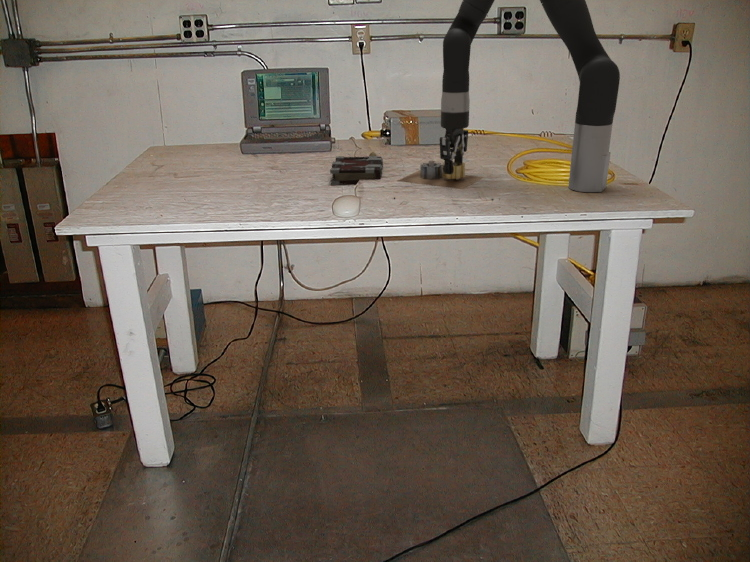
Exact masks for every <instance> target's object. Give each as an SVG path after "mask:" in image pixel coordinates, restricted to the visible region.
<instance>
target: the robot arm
mask: <svg viewBox="0 0 750 562" xmlns="http://www.w3.org/2000/svg"><path fill="white" fill-rule="evenodd" d="M494 2H495V0H462V2H461V3H460V7H459V9H458V13H457V14H456V16H455V17H454V20H453V21H452V23H451V24H450V27H449V28H448V31H447V32H446V33H445V35H444V38H443V41H442V61H443V62H442V63H443V66H442V67H443V73H442V82H441V83H442V87H441V89H442V90H441V91H442V92H441V97H440V98H441V99H440V127H441V128H442V129H445V134H444V136H442V137H440V138H439V155H440V157H439V158H440V159H441V160H443V163H444V173H445V174H452V173H453V162H461V163H464V162H463V157H464V155H465V153H466V152H467V151H468V142H469V141H468V140H469V139H468V138H469V130H468V129H466V128H468V127H469V125H470V101H471V99H470V70H469V69H470V59H471V58H470V57H471V48H472V47H471V46H472V44H473V41H474V39H475V37H476V35H477V33H478V30H479V28H480V26H481V24H482V23H483V22H484V20H485V19H486V18H487V16H488V14H489V12H490V10H491V9H492V6H493V5H494ZM539 2H540V4H541V6H542V8H543V11H544V12H545V14H546V17H547V18H548V21H549V22H550V23H551V26H552V27H553V28H554V30H555V31H556V34H557V35H558V36H559V37H560V39H561V40H562V42H563V43H564V45H565V46H566V48H567V50H568V52H569V54H570V57H571V60H572V61H573V65H574V67H575V70H576V73H577V76H578V81H579V88H578V99H577V107H576V110H575V111H576V112H575V118H574V120H575V122H574V127H573V128H574V129H573V130H574V131H573V137H572V138H573V139H572V147H571V148H572V149H571V158H570V165H569V166H570V167H569V176H568V177H569V178H568V189H570V190H572V191H576V192H581V193H582V192H583V193H603V191H604V190H605V189H606V188H607V185H608V184H607V183H608V176H609V170H610V169H609V167H610V162H611V161H610V160H611V151H610V147H611V146H610V145H611V138H612V130H613V123H614V117H615V113H616V109H617V101H618V95H619V94H618V93H619V87H620V80H621V74H620V68H619V66H618V65H617V64H616V63H615V62H614V60H612V59H611V57H610V56H609V54H608V53H607V51H606V50H605V48H604V47H603V45H602V43H601V41H600V39H599V38H598V35H597V33H596V31H595V28H594V24H593V21H592V17H591V13H590V11H589V7H588V4H587V1H586V0H539ZM450 153H451V155H450ZM454 153H455V156H454ZM453 157H454V159H453Z"/></svg>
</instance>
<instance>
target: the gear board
mask: <svg viewBox="0 0 750 562" xmlns="http://www.w3.org/2000/svg"><path fill="white" fill-rule="evenodd" d="M428 163H429V166H434V163H435V160H429V161H428ZM453 165H456V163H453ZM483 178H484V177H483V176H476V175H466V174H465V177H464V178H459V179H448V178H443V174H442V177H440V179H432V180H429V179H422V177H420V169H419V170H417V171H415V172H412V173H411V174H409V175H406V176H404V177H402V178H400V179H398V180H397V182H403V183H411V184H419V185H429V186H434V187H435V186H436V187H444V188H451V189H458V190H465V189H467V188H468V187H470V186H472V185H474V184H475V183H476V182H478V181H480V180H482V179H483Z"/></svg>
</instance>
